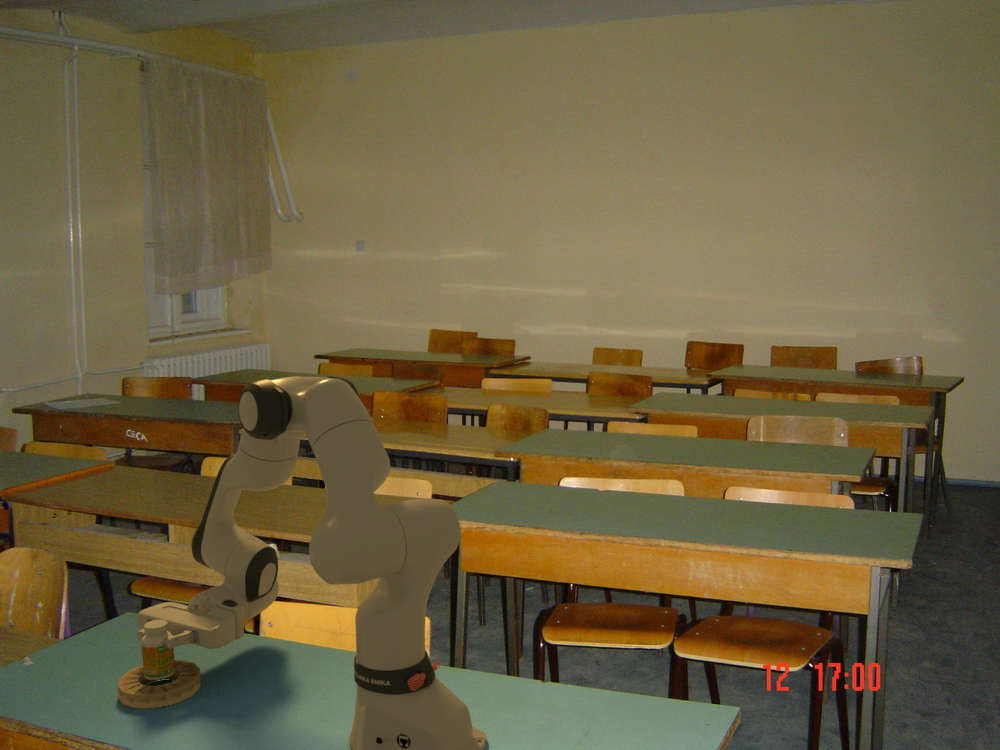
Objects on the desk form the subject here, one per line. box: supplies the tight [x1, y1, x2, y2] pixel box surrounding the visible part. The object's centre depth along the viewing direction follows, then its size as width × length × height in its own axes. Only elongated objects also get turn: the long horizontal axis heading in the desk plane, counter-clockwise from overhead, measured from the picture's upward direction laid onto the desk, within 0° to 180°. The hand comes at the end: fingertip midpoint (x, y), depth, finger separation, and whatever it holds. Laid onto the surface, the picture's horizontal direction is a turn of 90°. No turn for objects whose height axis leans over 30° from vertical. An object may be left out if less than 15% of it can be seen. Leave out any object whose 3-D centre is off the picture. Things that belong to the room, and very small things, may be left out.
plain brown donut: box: [117, 659, 201, 710], centre depth 170 cm, size 14×14×2 cm
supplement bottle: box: [140, 620, 175, 680], centre depth 169 cm, size 5×5×10 cm
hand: (153, 640), depth 168 cm, fingers closed on supplement bottle, 5 cm apart
